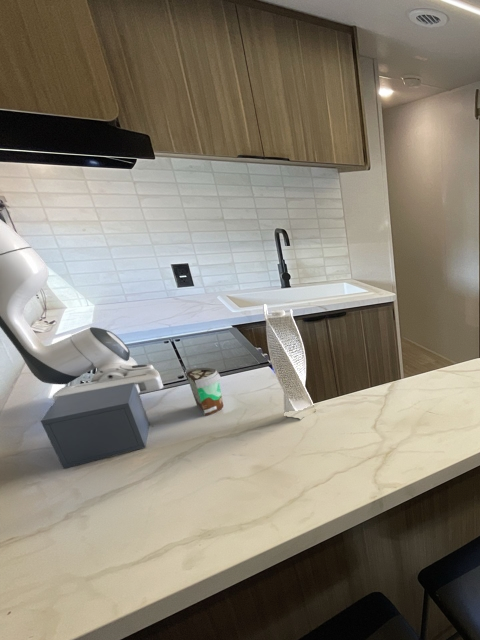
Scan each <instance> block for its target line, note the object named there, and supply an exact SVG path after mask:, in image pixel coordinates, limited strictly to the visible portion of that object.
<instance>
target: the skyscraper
mask: <svg viewBox="0 0 480 640" xmlns="http://www.w3.org/2000/svg"><path fill="white" fill-rule="evenodd" d="M262 312H263V313H262V314H263V319H264V321H265V325H266V326H265V329H266V330H265V331H266V342H267V343H266V344H267V350H268V355H269V359H270V362H271V365H272V370H273V371H274V374H275V377H276V379H277V381H278V383H279V386H280V387H281V389H282V391H283V414H284V413H285V412H289V411H295V412H296V411H298V410H303V409H304V408H307V407H308V406H311V405H314V406H315V404H314V402H313V400H312V398H311V395H310V394H309V392H308V390H307V388H306V381H307V357H306V350H305V346H304V342H303V339H302V336H301V333H300V331H299V328H298V326H297V323H296V321H295V319H294V316H293V313H294V311H293V309H292V308H290V309H289V311H285V310H284V309H276V310H272V311H270V313H269V309H268V305H267V304H266V303H263V306H262Z"/></svg>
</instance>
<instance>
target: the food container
mask: <svg viewBox="0 0 480 640" xmlns="http://www.w3.org/2000/svg"><path fill="white" fill-rule="evenodd" d="M184 372H185V375H186V377H187V381H188V384H189V387H190V390H191V392H192V395H193V398H194V401H195V404H196V407H197V408H198V409H199V410H200V412H202V414H203V415H204V416H205V417H208V416H210V415H213V414H215V413H218V412H219V411H221V410H222V409H223V408H224V402H223V401H224V400H223V397H222V391H221V385H220V382H219V381H220V380H221V375H220V373H219V371H218V370H217V369H216V368H214V367H195V368H188V369H185V371H184Z"/></svg>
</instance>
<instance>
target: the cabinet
mask: <svg viewBox="0 0 480 640" xmlns="http://www.w3.org/2000/svg"><path fill="white" fill-rule="evenodd" d="M40 423H41V425H42V427H43V429H44V432H45V433H46V435H47V438H48V440H49V442H50V445H51V446H52V448H53V450H54V453H55V454H56V456H57V458H58V460H59V462H60V465H61V466H62V469H67V468H71V467H75V466H79V465H84V464H87V463H91V462H95V461H99V460H103V459H107V458H110V457H114V456H115V457H116V456H119V455H122V454H127V453H130V452H134V451H138V450H141V449H142V450H143V449H146V447H147V442H148V441H147V440H148V435H149V427H150V420H149V418H148V415H147V413H146V410H145V407H144V404H143V402H142V399H141V396H140V393H138V391H137V388H136V385H135V383H129V384H124V385H118V386H113V387H107V388H102V389H96V390H91V391H86V392H80V393H75V394H69V395H64V396H59V397H58V398H57V399H56V400H55V402H54V401H53V402H52V404H51V406H50V407H49V408H48V410H47V412H46V413H45V414H44V415H43V416H42V418H41V419H40Z"/></svg>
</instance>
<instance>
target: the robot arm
mask: <svg viewBox="0 0 480 640" xmlns="http://www.w3.org/2000/svg"><path fill="white" fill-rule="evenodd" d="M49 276H50V275H49V267H48V266H47V263H45V261H44V260H43V258H42V257H41V256H40V255H39V253H38V252H37V251H36V250H35V249H34V248H33V247H32V246H31V245H30V244H29V243H28V242H27V241H26V240H25V239H24V237H22V236H21V235H20V234H19V233H18V232H17V231H16V230H14V229H13V228H12V227H11V226H9V224H7V223H6V222H4V220H2V218H0V329H1V330H2V331H3V333H4V334H5V335H6V337H7V338H8V340H9V341H10V342H11V344H12V345H13V346H14V347H15V350H16V351H18V353H19V354H20V356H21V357H22V359H23V361H24V363H25V365H26V367H27V368H28V369H29V371H30V372H31V374H32V375H33V376H34V377H35V378H36V379H38V380H39V381H40V382H42V383H45V384H50V385H68V384H69V383H71V382H73V381H75V380H76V379H79V378H80V377H81V376H83V375H84V374H87V373H89V372H91V371H94V370H96V371H95V372H94V374H93V375H92V378H91V381H89V382H83V383H78V384H77V383H76V384H71V385H68V386H63V387H62V388H60V389H58V390H57V391H56V392H55V393H53V395H52V399H53V403H54V402H55V400H56V399H57V398H58V397H59V396H64V395H69V394H75V393H80V392H86V391H91V390H96V389H102V388H107V387H113V386H118V385H124V384H129V383H135V385H136V388H137V391H138V393H139V394H143V393H149V392H154V391H159V390H162V389H164V387H165V386H164V384H163V380H162V378H161V375H160V373H159V371H158V369H155V368H154V366H153V364H138V363H137V362H138V361H136V360H135V359H134V358H133V357H132V356H131V355H130V354H131V352H130V349H129V347H128V345H127V344H126V343H125V342H124V341H123V340H122V339H121V338H120V337H119V336H118V335H117V334H115V333H114V332H112V331H110V330H108V329H105V328H100V327H91V326H90V327H88V328H86V329H84V330H81V331H79V332H77V333H74V334H72V335H71V336H68V337H66V338H64V339H61V340H59V341H57V342H54V343H52V344H49V345H45V344H44V343H43V342H42V341H41V340H40V337H38V335H37V333H36V332H35V331H34V330H33V329H32V326H30V324H29V323H28V321H27V319H26V318H25V316H24V309H25V307H26V305H27V304H28V302H30V300H32V299H33V297H34V296H36V295H37V294H38V293H39V292H40V291H41V290H42V289H43V288H44V286H45V285H46V283H47V281H48V279H49Z"/></svg>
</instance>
